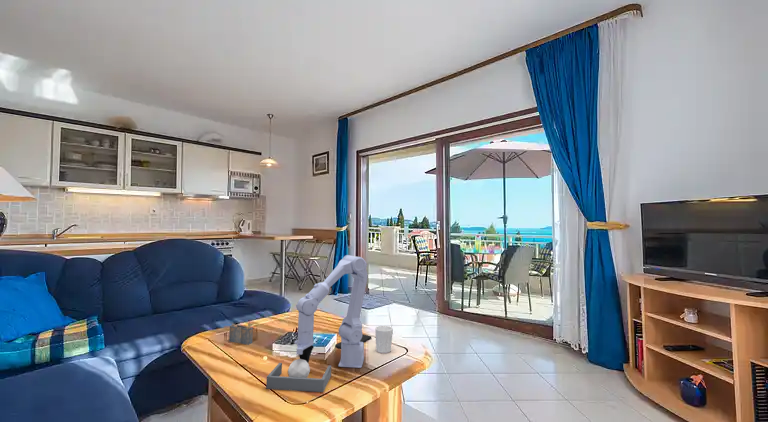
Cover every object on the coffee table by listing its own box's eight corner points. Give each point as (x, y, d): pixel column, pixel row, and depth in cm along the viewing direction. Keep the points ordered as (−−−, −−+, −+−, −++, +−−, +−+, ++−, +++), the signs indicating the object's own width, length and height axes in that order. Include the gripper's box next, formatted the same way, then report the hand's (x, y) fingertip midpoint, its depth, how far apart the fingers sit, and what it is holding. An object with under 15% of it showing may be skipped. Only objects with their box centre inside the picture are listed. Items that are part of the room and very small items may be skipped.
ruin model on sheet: (252, 343, 158) (253, 322, 159) (248, 345, 155) (249, 324, 156) (233, 340, 162) (234, 319, 162) (229, 342, 159) (229, 321, 159)
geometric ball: (300, 391, 120) (299, 380, 115) (283, 378, 123) (282, 367, 118) (314, 373, 125) (314, 362, 120) (298, 361, 128) (297, 350, 123)
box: (331, 376, 126) (331, 365, 126) (323, 392, 114) (323, 380, 114) (279, 373, 127) (279, 362, 127) (266, 388, 115) (266, 376, 115)
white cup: (372, 352, 151) (372, 329, 151) (378, 346, 158) (379, 324, 158) (388, 355, 148) (388, 332, 148) (394, 348, 155) (395, 327, 155)
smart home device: (372, 336, 168) (348, 348, 151) (372, 339, 168) (348, 352, 151) (358, 332, 172) (334, 344, 155) (358, 336, 172) (334, 348, 155)
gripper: (301, 323, 134) (300, 358, 133) (288, 335, 119) (287, 374, 119) (318, 324, 133) (317, 359, 133) (308, 336, 119) (306, 375, 118)
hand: (304, 366), depth 126 cm, fingers closed
